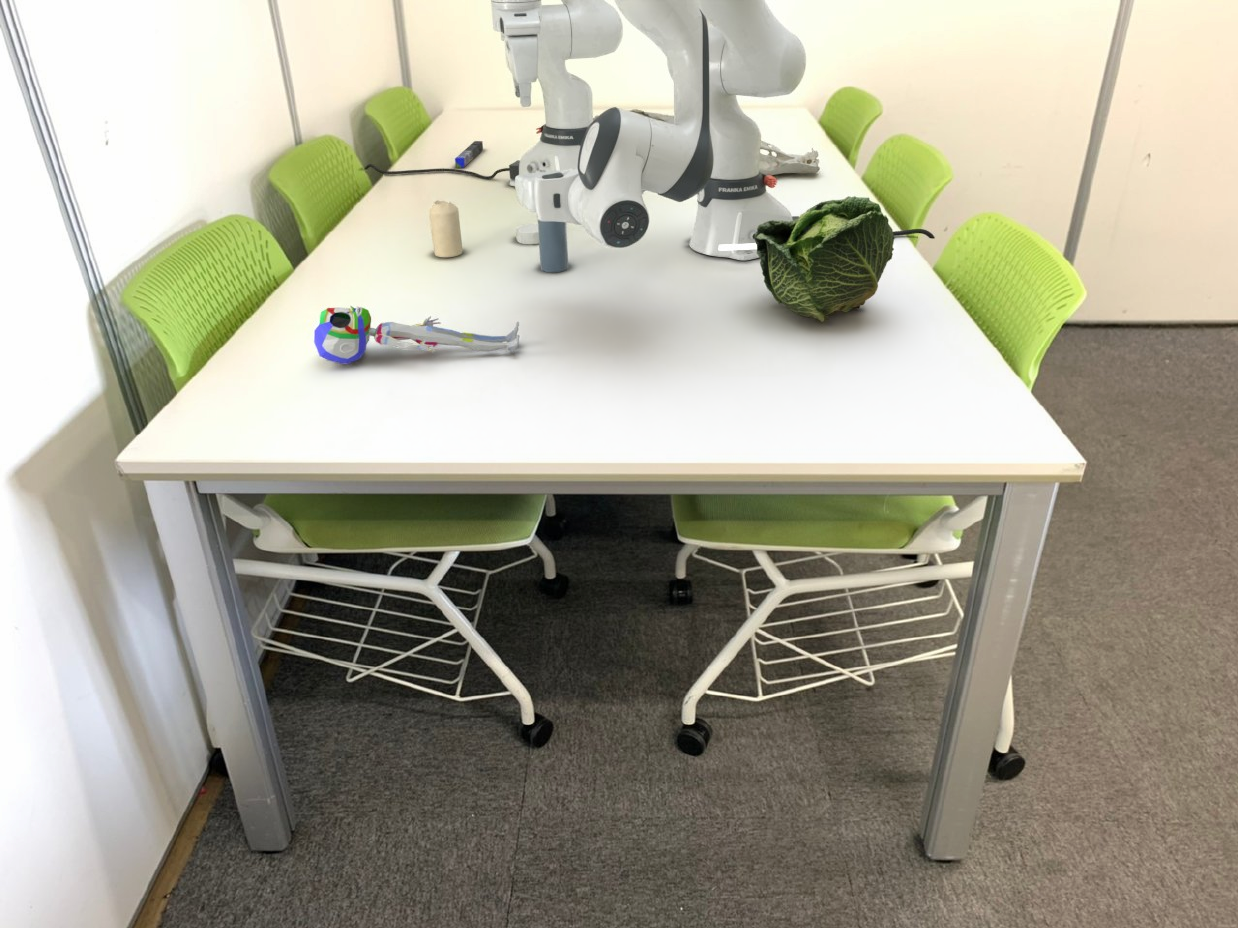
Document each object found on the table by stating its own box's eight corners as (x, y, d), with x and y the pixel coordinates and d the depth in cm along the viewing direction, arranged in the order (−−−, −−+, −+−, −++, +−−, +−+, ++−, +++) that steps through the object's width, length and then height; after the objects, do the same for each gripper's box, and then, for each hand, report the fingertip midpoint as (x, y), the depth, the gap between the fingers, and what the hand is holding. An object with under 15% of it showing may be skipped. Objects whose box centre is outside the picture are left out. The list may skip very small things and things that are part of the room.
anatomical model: (720, 129, 225) (821, 128, 221) (719, 166, 230) (818, 165, 226) (716, 143, 213) (823, 142, 209) (716, 182, 218) (820, 182, 214)
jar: (546, 261, 170) (542, 179, 162) (572, 264, 169) (568, 181, 161) (536, 271, 166) (530, 186, 158) (562, 273, 165) (558, 188, 156)
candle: (467, 249, 176) (462, 199, 171) (454, 259, 172) (448, 207, 167) (442, 247, 178) (436, 196, 172) (429, 256, 173) (422, 204, 168)
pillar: (482, 141, 246) (462, 159, 229) (483, 149, 247) (463, 167, 230) (474, 141, 246) (454, 159, 230) (475, 149, 247) (455, 167, 231)
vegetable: (781, 336, 156) (729, 236, 148) (870, 275, 157) (823, 172, 149) (838, 357, 138) (781, 244, 130) (938, 287, 139) (888, 171, 131)
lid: (536, 246, 178) (535, 234, 177) (510, 242, 181) (509, 230, 179) (552, 237, 183) (551, 225, 181) (527, 233, 185) (526, 221, 184)
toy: (520, 333, 130) (306, 316, 126) (516, 385, 135) (309, 370, 130) (519, 307, 139) (319, 289, 134) (515, 356, 143) (321, 341, 139)
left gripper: (494, 13, 167) (501, 92, 175) (504, 26, 150) (511, 113, 158) (528, 12, 168) (533, 90, 176) (542, 24, 151) (546, 111, 159)
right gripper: (656, 166, 137) (627, 146, 148) (525, 180, 131) (506, 158, 143) (656, 207, 140) (628, 185, 151) (529, 223, 135) (509, 198, 146)
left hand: (523, 101), depth 166 cm, fingers open, 8 cm apart
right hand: (568, 172), depth 147 cm, fingers open, 8 cm apart
